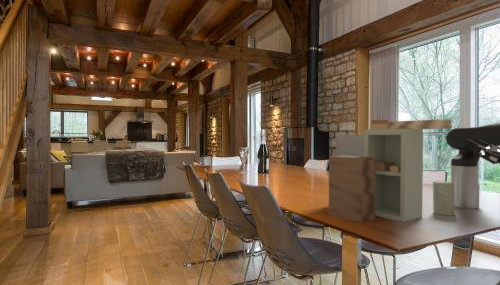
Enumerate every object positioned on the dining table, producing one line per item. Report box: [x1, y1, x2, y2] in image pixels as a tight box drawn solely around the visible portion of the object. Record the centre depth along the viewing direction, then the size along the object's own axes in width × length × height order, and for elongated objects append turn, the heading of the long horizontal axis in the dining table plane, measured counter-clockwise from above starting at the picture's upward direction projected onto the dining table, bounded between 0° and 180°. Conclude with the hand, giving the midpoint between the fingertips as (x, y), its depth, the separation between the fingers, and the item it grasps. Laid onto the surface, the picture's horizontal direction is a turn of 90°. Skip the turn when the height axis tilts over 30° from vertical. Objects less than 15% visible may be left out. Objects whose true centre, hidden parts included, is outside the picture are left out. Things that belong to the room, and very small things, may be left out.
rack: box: [364, 119, 424, 223], centre depth 121 cm, size 12×16×36 cm
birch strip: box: [388, 118, 452, 130], centre depth 118 cm, size 26×4×3 cm, turn 35°
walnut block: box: [328, 155, 376, 224], centre depth 118 cm, size 8×14×22 cm, turn 35°
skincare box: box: [432, 180, 456, 216], centre depth 124 cm, size 6×4×12 cm
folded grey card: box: [336, 134, 365, 157], centre depth 138 cm, size 14×6×30 cm, turn 84°
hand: (470, 141), depth 103 cm, fingers open, 8 cm apart
